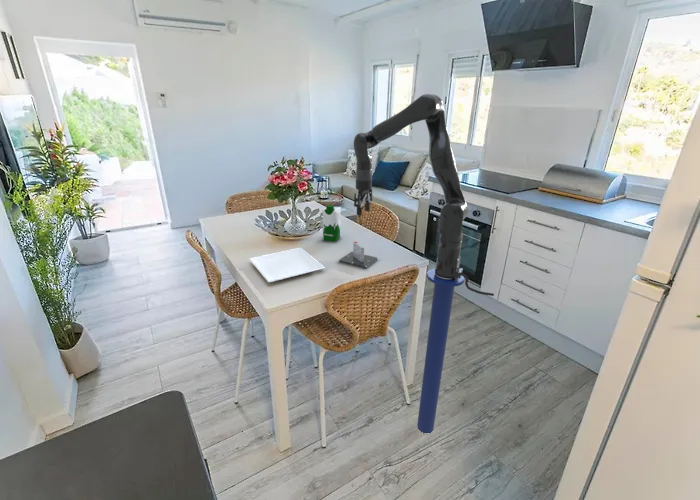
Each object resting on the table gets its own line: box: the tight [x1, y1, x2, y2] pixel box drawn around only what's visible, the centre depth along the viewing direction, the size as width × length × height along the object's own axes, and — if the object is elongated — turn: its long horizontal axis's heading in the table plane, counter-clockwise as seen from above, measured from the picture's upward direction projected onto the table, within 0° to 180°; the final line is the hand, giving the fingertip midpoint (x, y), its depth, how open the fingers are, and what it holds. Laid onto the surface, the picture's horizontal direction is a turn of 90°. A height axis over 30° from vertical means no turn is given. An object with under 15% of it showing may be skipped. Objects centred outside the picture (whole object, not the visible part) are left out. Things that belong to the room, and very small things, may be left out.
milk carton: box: [321, 204, 342, 243], centre depth 187 cm, size 9×9×20 cm
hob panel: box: [338, 251, 378, 270], centre depth 164 cm, size 14×12×2 cm
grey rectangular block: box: [352, 241, 365, 262], centre depth 163 cm, size 8×2×7 cm, turn 26°
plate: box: [248, 247, 326, 283], centre depth 157 cm, size 26×26×2 cm
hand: (363, 212), depth 165 cm, fingers open, 8 cm apart
